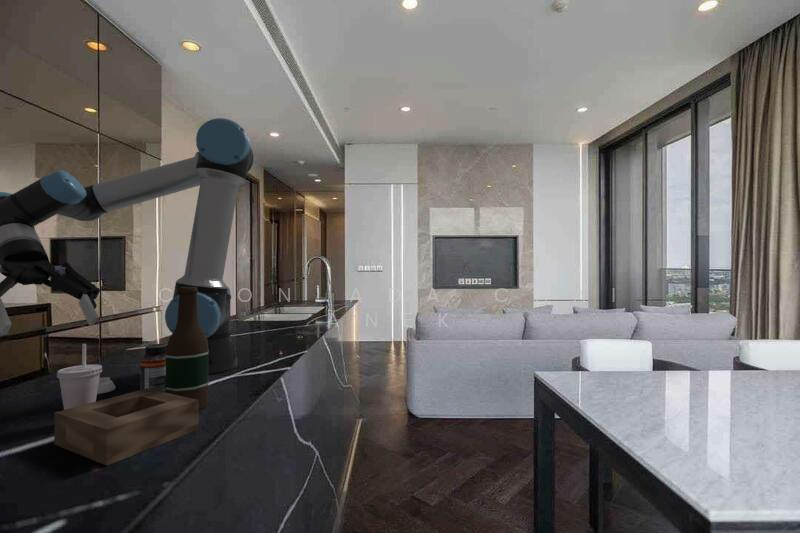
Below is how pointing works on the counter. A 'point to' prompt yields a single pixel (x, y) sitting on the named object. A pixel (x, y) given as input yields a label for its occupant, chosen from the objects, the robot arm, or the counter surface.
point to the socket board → (125, 424)
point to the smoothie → (79, 383)
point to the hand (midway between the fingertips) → (53, 325)
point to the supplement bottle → (153, 368)
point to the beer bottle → (188, 352)
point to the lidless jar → (105, 385)
